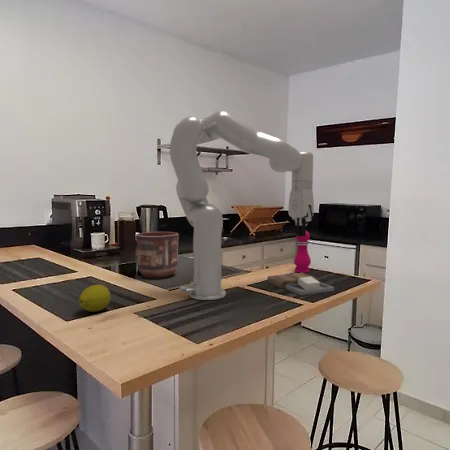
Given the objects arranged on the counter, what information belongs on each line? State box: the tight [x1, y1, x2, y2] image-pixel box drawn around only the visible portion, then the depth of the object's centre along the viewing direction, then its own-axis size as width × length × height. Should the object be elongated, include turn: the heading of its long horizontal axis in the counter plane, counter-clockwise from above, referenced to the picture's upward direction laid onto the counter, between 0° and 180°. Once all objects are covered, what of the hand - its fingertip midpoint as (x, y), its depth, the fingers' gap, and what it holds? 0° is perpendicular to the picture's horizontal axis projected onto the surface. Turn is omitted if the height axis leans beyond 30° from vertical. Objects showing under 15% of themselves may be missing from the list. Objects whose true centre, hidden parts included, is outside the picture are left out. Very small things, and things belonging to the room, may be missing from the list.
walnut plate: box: [267, 272, 318, 289], centre depth 146 cm, size 16×10×2 cm, turn 114°
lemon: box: [78, 284, 112, 313], centre depth 113 cm, size 11×8×8 cm
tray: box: [284, 281, 335, 297], centre depth 136 cm, size 14×10×2 cm
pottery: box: [135, 231, 180, 280], centre depth 160 cm, size 18×18×18 cm
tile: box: [298, 275, 321, 290], centre depth 138 cm, size 6×6×2 cm
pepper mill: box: [293, 230, 312, 274], centre depth 166 cm, size 7×7×20 cm
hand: (300, 236), depth 139 cm, fingers closed
